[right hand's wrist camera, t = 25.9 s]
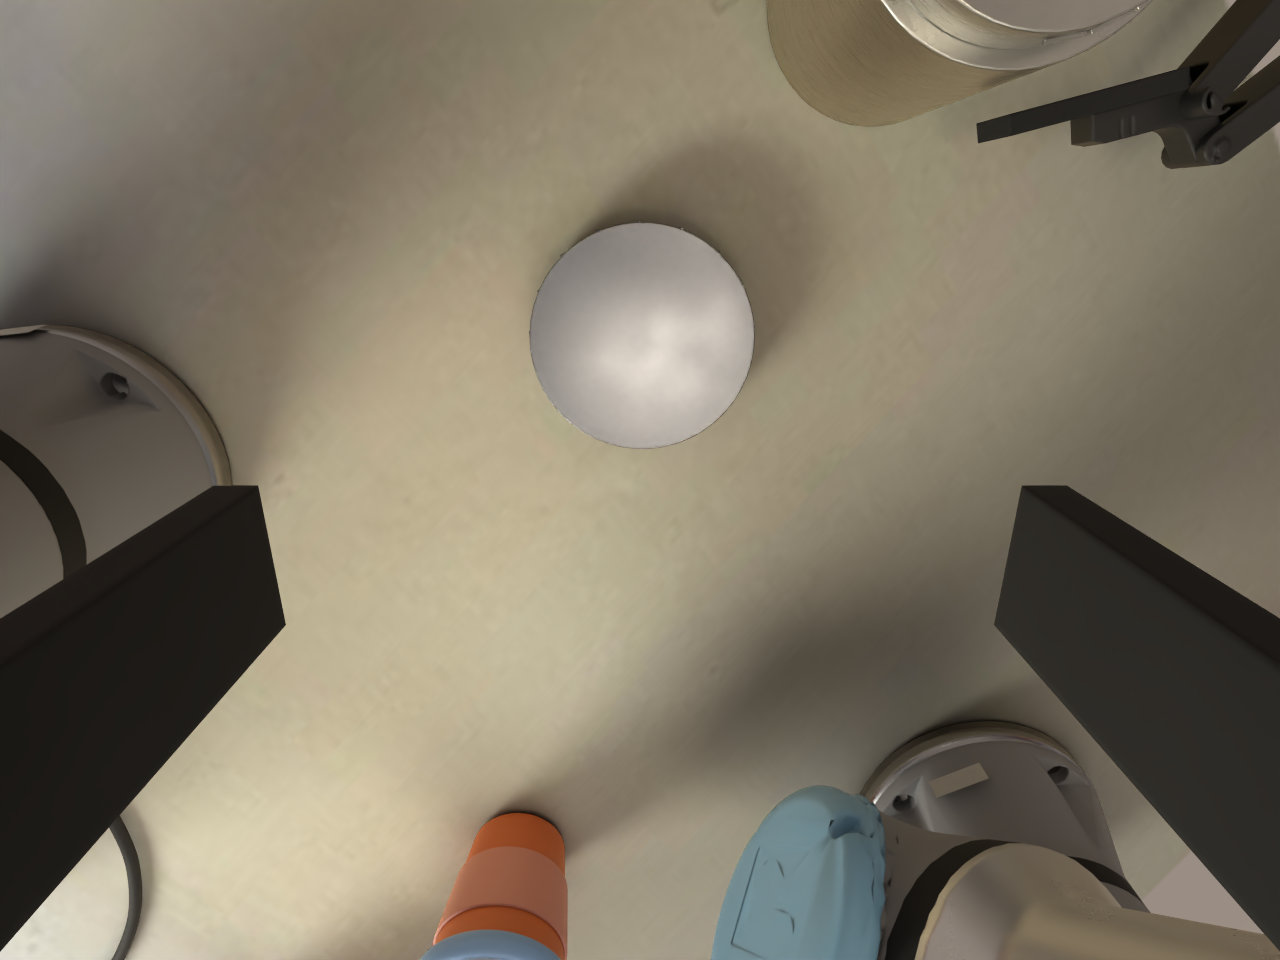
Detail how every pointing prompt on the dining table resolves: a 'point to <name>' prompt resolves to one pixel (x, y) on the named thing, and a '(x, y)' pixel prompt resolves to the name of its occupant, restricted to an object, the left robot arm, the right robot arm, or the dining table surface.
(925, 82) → the jar
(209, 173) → the dining table surface
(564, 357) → the lid
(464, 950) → the cup with straw
